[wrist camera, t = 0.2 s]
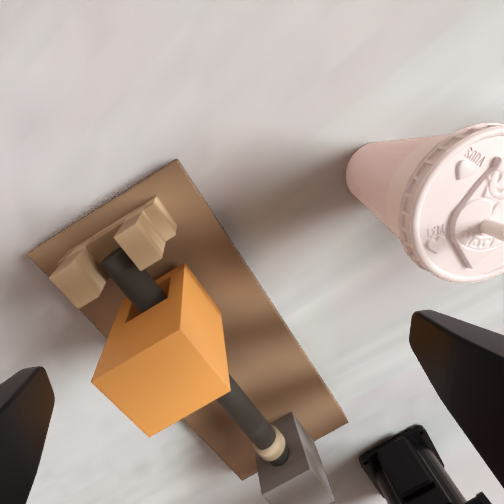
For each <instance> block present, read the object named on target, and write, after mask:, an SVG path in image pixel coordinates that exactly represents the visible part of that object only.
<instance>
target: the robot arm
mask: <svg viewBox="0 0 504 504" xmlns="http://www.w3.org/2000/svg"><path fill="white" fill-rule="evenodd" d="M409 342H410V346H411V348H412V350H413V352H414V354H415V355H416V357H417V359H418V361H419V362H420V364H421V366H422V368H423V369H424V371H425V373H426V375H427V376H428V378H429V380H430V382H431V383H432V385H433V387H434V389H435V390H436V392H437V394H438V395H439V397H440V399H441V400H442V402H443V403H444V405H445V406H446V408H447V409H448V411H449V412H450V413H451V415H452V416H453V418H454V419H455V420H456V422H457V423H458V425H459V426H460V427H461V429H462V430H463V432H464V433H465V434H466V436H467V437H468V439H469V440H470V442H471V443H472V444H473V446H474V447H475V449H476V450H477V451H478V453H479V454H480V456H481V457H482V458H483V460H484V461H485V463H486V464H487V465H488V467H489V468H490V470H491V471H492V473H493V474H494V475H495V477H496V478H497V480H498V481H499V482H500V484H501V485H502V487H503V488H504V335H501V334H498V333H496V332H493V331H490V330H487V329H484V328H481V327H478V326H476V325H473V324H470V323H467V322H464V321H461V320H458V319H456V318H453V317H450V316H447V315H444V314H441V313H438V312H436V311H433V310H422V311H416V312H414V313H413V315H412V319H411V327H410V335H409ZM54 402H55V397H54V392H53V389H52V387H51V384H50V381H49V378H48V375H47V373H46V371H45V369H44V368H43V367H40V366H39V367H32V368H25V369H22V370H20V371H19V372H17V373H16V374H15V375H13V376H12V377H10V378H9V379H7V380H6V381H5V382H3V383H2V384H0V504H26V501H27V499H28V496H29V493H30V490H31V488H32V485H33V482H34V479H35V476H36V473H37V470H38V466H39V463H40V459H41V455H42V451H43V447H44V443H45V439H46V435H47V431H48V427H49V423H50V419H51V415H52V411H53V407H54ZM359 462H360V464H361V466H362V468H363V469H364V471H365V472H366V473H367V475H368V476H369V478H370V479H371V481H372V482H373V484H374V485H375V487H376V488H377V489H378V491H379V492H380V494H381V495H382V497H383V498H385V499H386V501H387V503H388V504H491V502H490V501H489V500H488V499H487V497H486V496H485V495H484V494H483V492H480V493H478V494H477V495H476V497H474V498H473V499H471V500H469V501H466V500H465V498H464V497H463V495H462V494H461V492H460V491H459V490H458V488H457V487H456V485H455V484H454V482H453V481H452V479H451V478H450V477H449V475H448V474H447V472H446V471H445V469H444V464H443V462H442V460H441V458H440V456H439V454H438V453H437V451H436V449H435V447H434V445H433V443H432V441H431V439H430V437H429V435H428V434H427V432H426V430H425V429H424V427H423V426H421V425H418V426H416V427H414V428H412V429H410V430H409V431H407V432H405V433H403V434H401V435H399V436H398V437H396V438H394V439H392V440H390V441H388V442H386V443H385V444H383V445H381V446H379V447H377V448H375V449H373V450H372V451H370V452H368V453H366V454H364V455H362V456H361V457H360V458H359Z"/></svg>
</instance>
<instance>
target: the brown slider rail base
mask: <svg viewBox="0 0 504 504" xmlns="http://www.w3.org/2000/svg"><path fill="white" fill-rule="evenodd" d="M28 256H29V257H30V258H31V259H32V260H33V261H34V262H35V263H36V264H37V265H38V266H39V267H40V268H41V269H42V270H43V271H44V273H45V274H46V275H47V276H48V277H49V279H50V280H51V281H52V283H53V284H54V285H55V286H56V287H57V288H58V289H59V290H60V291H61V292H62V293H63V294H64V295H65V296H66V297H67V298H68V299H69V300H70V301H71V302H72V304H73V305H74V306H75V307H76V308H77V309H80V310H81V311H82V313H83V314H84V315H85V316H86V317H87V318H88V319H89V320H90V321H91V322H92V323H93V324H94V325H95V326H96V327H97V328H98V329H99V330H100V331H101V332H102V334H103V335H104V336H105V337H106V338H107V339H108V336H109V334H110V331H111V328H112V326H113V323H114V321H115V318H116V316H117V313H118V310H119V308H120V305H121V303H122V300H123V299H125V298H127V297H128V299H129V300H130V301H131V302H132V303H133V304H134V306H135V307H136V308H137V309H138V310H139V311H140V312H141V314H142V313H143V312H145V311H147V310H148V309H150V308H152V307H153V306H155V305H157V304H158V303H160V302H162V301H163V300H165V299H167V298H168V297H167V296H166V294H165V293H164V292H163V291H162V289H161V288H160V287H159V286H158V284H157V283H156V282H155V280H157V279H158V278H160V277H162V276H163V275H165V274H166V273H168V272H170V271H171V270H173V269H175V268H176V267H178V266H180V265H181V264H183V263H186V265H187V266H188V267H189V269H190V270H191V272H192V273H193V274H194V276H195V277H196V278H197V280H198V281H199V282H200V284H201V285H202V286H203V288H204V289H205V290H206V292H207V293H208V295H209V296H210V297H211V299H212V300H213V301H214V303H215V304H216V305H217V307H218V308H219V309H220V311H221V317H222V325H223V333H224V341H225V349H226V357H227V365H228V373H229V381H230V389H231V391H230V392H228V393H226V394H224V395H223V396H221V397H219V398H217V399H216V400H214V401H212V402H210V403H209V404H207V405H205V406H203V407H202V408H200V409H198V410H196V411H195V412H193V413H191V414H189V415H188V416H186V417H184V418H183V419H184V420H185V421H186V422H187V423H188V424H189V425H190V426H191V427H192V428H193V429H194V430H195V431H196V432H197V434H198V435H199V436H200V437H201V438H202V439H203V440H204V441H205V442H206V443H207V444H208V445H209V446H210V447H211V448H212V449H213V450H214V451H215V452H216V454H217V455H218V456H219V457H220V458H221V459H222V460H223V461H224V462H225V463H226V464H227V465H228V466H229V467H230V468H231V469H232V470H233V471H234V472H235V474H236V475H237V476H238V477H239V478H240V479H241V480H242V481H243V480H244V479H246V478H248V477H250V476H252V475H254V474H255V473H257V472H258V475H259V480H260V486H261V492H262V496H263V497H264V498H265V499H266V500H267V501H268V502H269V503H270V504H330V503H332V502H334V501H335V499H334V496H333V493H332V490H331V488H330V485H329V482H328V479H327V476H326V474H325V471H324V468H323V465H322V462H321V460H320V457H319V454H318V451H317V449H316V446H315V443H314V441H315V440H317V439H319V438H321V437H323V436H325V435H326V434H328V433H330V432H332V431H334V430H335V429H337V428H339V427H341V426H343V425H345V424H346V423H348V421H347V418H346V416H345V414H344V412H343V410H342V409H341V407H340V406H339V404H338V403H337V401H336V400H335V398H334V397H333V395H332V394H331V392H330V391H329V389H328V388H327V386H326V385H325V383H324V381H323V380H322V378H321V377H320V375H319V374H318V372H317V371H316V369H315V368H314V366H313V365H312V363H311V362H310V360H309V359H308V357H307V356H306V354H305V352H304V351H303V349H302V348H301V346H300V345H299V343H298V342H297V340H296V339H295V337H294V336H293V334H292V333H291V331H290V330H289V328H288V327H287V325H286V323H285V322H284V320H283V319H282V317H281V316H280V314H279V313H278V311H277V310H276V308H275V307H274V305H273V304H272V302H271V301H270V299H269V298H268V296H267V295H266V293H265V291H264V290H263V288H262V287H261V285H260V284H259V282H258V281H257V279H256V278H255V276H254V275H253V273H252V272H251V270H250V269H249V267H248V266H247V264H246V262H245V261H244V259H243V258H242V256H241V255H240V253H239V252H238V250H237V249H236V247H235V246H234V244H233V243H232V241H231V240H230V238H229V237H228V235H227V233H226V232H225V230H224V229H223V227H222V226H221V224H220V223H219V221H218V220H217V218H216V217H215V215H214V214H213V212H212V211H211V209H210V208H209V206H208V204H207V203H206V201H205V200H204V198H203V197H202V195H201V194H200V192H199V191H198V189H197V188H196V186H195V185H194V183H193V182H192V180H191V179H190V177H189V175H188V174H187V172H186V171H185V169H184V168H183V166H182V165H181V163H180V162H179V160H178V159H176V160H174V161H173V162H171V163H170V164H168V165H166V166H165V167H163V168H162V169H160V170H158V171H157V172H155V173H154V174H152V175H150V176H149V177H147V178H146V179H144V180H143V181H141V182H139V183H138V184H136V185H135V186H133V187H131V188H130V189H128V190H127V191H125V192H123V193H122V194H120V195H119V196H117V197H116V198H114V199H112V200H111V201H109V202H108V203H106V204H104V205H103V206H101V207H100V208H98V209H96V210H95V211H93V212H92V213H90V214H88V215H87V216H85V217H84V218H82V219H81V220H79V221H77V222H76V223H74V224H73V225H71V226H69V227H68V228H66V229H65V230H63V231H61V232H60V233H58V234H57V235H55V236H54V237H52V238H50V239H49V240H47V241H46V242H44V243H42V244H41V245H39V246H38V247H36V248H35V249H34V250H33V251H31V252H30V253H29V254H28Z"/></svg>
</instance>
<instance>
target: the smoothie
mask: <svg viewBox="0 0 504 504" xmlns="http://www.w3.org/2000/svg"><path fill="white" fill-rule="evenodd" d="M346 182H347V186H348V188H349V190H350V191H351V193H352V194H353V195H354V196H355V197H356V198H357V199H359V200H360V201H361V202H362V203H363V204H364V205H365V206H366V207H367V208H368V209H369V210H370V211H371V212H372V213H373V214H374V215H375V216H376V217H377V218H378V219H379V220H381V221H382V222H383V223H384V224H385V225H386V226H387V227H388V228H389V229H390V230H391V231H392V232H393V233H394V234H395V235H396V236H397V237H398V238H399V239H400V241H401V243H402V245H403V247H404V249H405V251H406V253H407V255H408V256H409V257H410V258H411V259H412V260H413V261H414V262H415V263H416V264H417V265H418V266H419V267H420V268H422V269H424V270H426V271H428V272H430V273H431V274H433V275H435V276H436V277H438V278H440V279H443V280H445V281H449V282H453V283H475V282H480V281H484V280H487V279H490V278H493V277H495V276H497V275H499V274H501V273H504V124H501V123H479V124H475V125H472V126H469V127H466V128H463V129H460V130H457V131H455V132H454V133H452V134H450V135H442V136H432V137H422V138H411V139H401V140H391V141H381V142H372V143H369V144H366V145H364V146H362V147H361V148H359V149H358V150H357V151H356V152H355V153H354V154H353V156H352V157H351V159H350V161H349V163H348V165H347V169H346Z"/></svg>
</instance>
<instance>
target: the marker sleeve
mask: <svg viewBox="0 0 504 504" xmlns="http://www.w3.org/2000/svg"><path fill="white" fill-rule="evenodd" d="M155 282H156V283H157V284H158V286H159V287H160V288H161V289H162V291H163V292H164V293H165V294H166V296H167V297H168V298H167V299H165V300H163V301H162V302H160V303H158V304H157V305H155V306H153V307H152V308H150V309H148V310H147V311H145V312H143V313H142V314H141V312H140V311H139V310H138V309H137V308H136V307H135V306H134V304H133V303H132V302H131V301H130V300H129V299H128V297H127V298H125V299H123V300H122V303H121V305H120V308H119V310H118V313H117V316H116V318H115V321H114V323H113V326H112V328H111V331H110V334H109V336H108V339H107V341H106V344H105V347H104V349H103V352H102V354H101V357H100V359H99V362H98V365H97V367H96V370H95V372H94V375H93V377H92V380H91V383H93V384H94V385H95V386H96V387H97V388H98V389H99V390H100V391H101V392H102V393H103V394H104V395H105V396H106V397H107V398H108V399H109V400H110V401H111V402H112V403H113V404H115V405H116V406H117V407H118V408H119V409H120V410H121V411H122V412H123V413H124V414H125V415H126V416H127V417H128V418H129V419H130V420H131V421H132V422H133V423H134V424H135V425H137V426H138V427H139V428H140V429H141V430H142V431H143V432H144V433H145V434H146V435H147V436H148V437H151V436H153V435H154V434H156V433H158V432H160V431H161V430H163V429H165V428H167V427H168V426H170V425H172V424H174V423H175V422H177V421H179V420H181V419H182V418H184V417H186V416H188V415H189V414H191V413H193V412H195V411H196V410H198V409H200V408H202V407H203V406H205V405H207V404H209V403H210V402H212V401H214V400H216V399H217V398H219V397H221V396H223V395H224V394H226V393H228V392H230V391H231V389H230V381H229V373H228V365H227V357H226V349H225V341H224V333H223V325H222V317H221V311H220V309H219V308H218V307H217V305H216V304H215V303H214V301H213V300H212V299H211V297H210V296H209V295H208V293H207V292H206V290H205V289H204V288H203V286H202V285H201V284H200V282H199V281H198V280H197V278H196V277H195V276H194V274H193V273H192V272H191V270H190V269H189V267H188V266H187V265H186V263H183V264H181V265H180V266H178V267H176V268H175V269H173V270H171V271H170V272H168V273H166V274H165V275H163V276H162V277H160V278H158V279H157V280H155Z"/></svg>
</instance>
